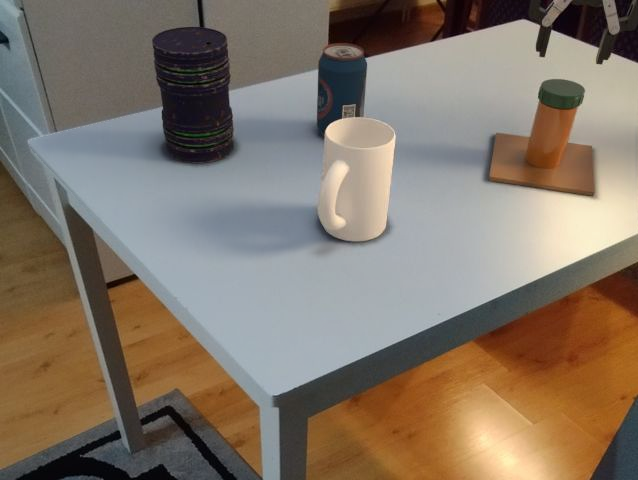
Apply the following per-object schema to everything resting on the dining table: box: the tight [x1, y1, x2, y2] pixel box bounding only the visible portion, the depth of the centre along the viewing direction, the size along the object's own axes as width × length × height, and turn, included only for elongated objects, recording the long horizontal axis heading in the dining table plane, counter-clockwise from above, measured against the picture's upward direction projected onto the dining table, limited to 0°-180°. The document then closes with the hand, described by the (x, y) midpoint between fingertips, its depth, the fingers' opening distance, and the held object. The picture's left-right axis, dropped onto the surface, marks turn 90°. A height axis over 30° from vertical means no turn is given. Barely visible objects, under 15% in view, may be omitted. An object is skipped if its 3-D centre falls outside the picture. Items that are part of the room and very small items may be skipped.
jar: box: [525, 99, 579, 168], centre depth 94 cm, size 5×5×10 cm
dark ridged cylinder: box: [151, 26, 235, 164], centre depth 93 cm, size 10×10×15 cm
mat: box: [487, 132, 596, 197], centre depth 97 cm, size 14×14×1 cm
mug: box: [317, 117, 396, 242], centre depth 79 cm, size 8×12×12 cm
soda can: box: [316, 42, 368, 137], centre depth 99 cm, size 7×7×12 cm
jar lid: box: [537, 78, 586, 109], centre depth 91 cm, size 6×6×2 cm
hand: (570, 58), depth 87 cm, fingers open, 6 cm apart
